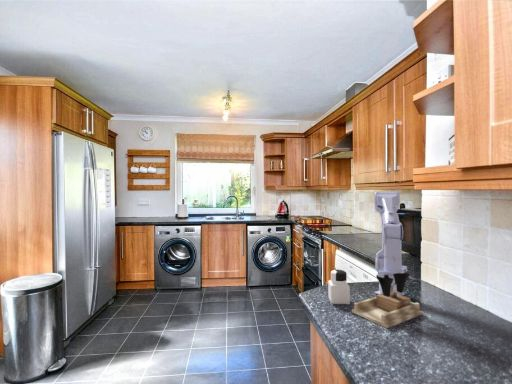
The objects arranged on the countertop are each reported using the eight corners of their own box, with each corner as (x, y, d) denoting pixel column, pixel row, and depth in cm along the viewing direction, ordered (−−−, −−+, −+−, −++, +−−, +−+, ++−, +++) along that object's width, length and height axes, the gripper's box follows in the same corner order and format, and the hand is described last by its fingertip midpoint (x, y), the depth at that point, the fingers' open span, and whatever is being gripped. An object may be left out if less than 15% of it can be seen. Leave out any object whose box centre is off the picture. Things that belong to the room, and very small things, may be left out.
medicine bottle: (345, 297, 114) (345, 268, 114) (350, 304, 107) (349, 273, 107) (328, 297, 115) (328, 268, 115) (331, 304, 108) (331, 273, 108)
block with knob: (389, 301, 107) (389, 279, 107) (410, 309, 100) (410, 285, 100) (376, 306, 103) (376, 282, 103) (396, 314, 96) (396, 289, 96)
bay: (386, 300, 110) (386, 292, 110) (422, 314, 98) (422, 304, 98) (351, 312, 100) (351, 302, 100) (387, 328, 88) (386, 317, 88)
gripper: (390, 261, 94) (390, 301, 94) (415, 256, 101) (415, 293, 101) (372, 257, 100) (372, 294, 100) (397, 252, 107) (397, 287, 107)
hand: (393, 293), depth 101 cm, fingers open, 7 cm apart
